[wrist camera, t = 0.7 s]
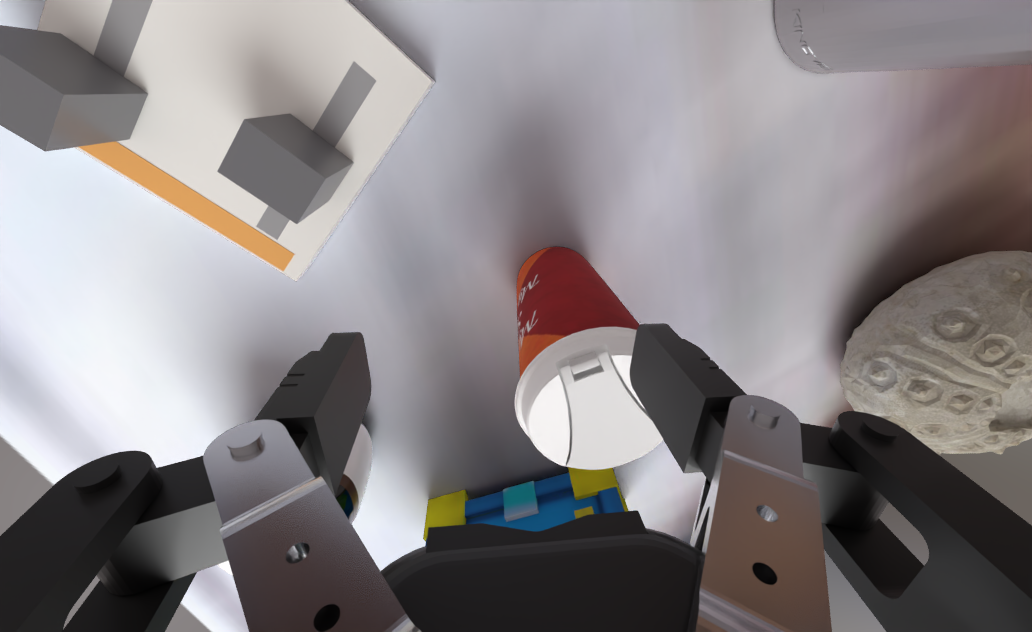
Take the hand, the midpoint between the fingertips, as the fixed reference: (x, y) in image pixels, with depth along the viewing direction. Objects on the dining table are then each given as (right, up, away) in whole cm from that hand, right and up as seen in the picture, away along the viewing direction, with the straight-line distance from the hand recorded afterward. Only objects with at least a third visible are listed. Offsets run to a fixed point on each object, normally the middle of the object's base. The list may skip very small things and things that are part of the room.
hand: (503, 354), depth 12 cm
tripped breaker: (-12, +10, +12) cm, 20 cm away
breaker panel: (-16, +14, +12) cm, 24 cm away
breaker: (-22, +13, +9) cm, 27 cm away
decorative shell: (+37, 0, +25) cm, 45 cm away
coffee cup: (+3, +4, +20) cm, 20 cm away
